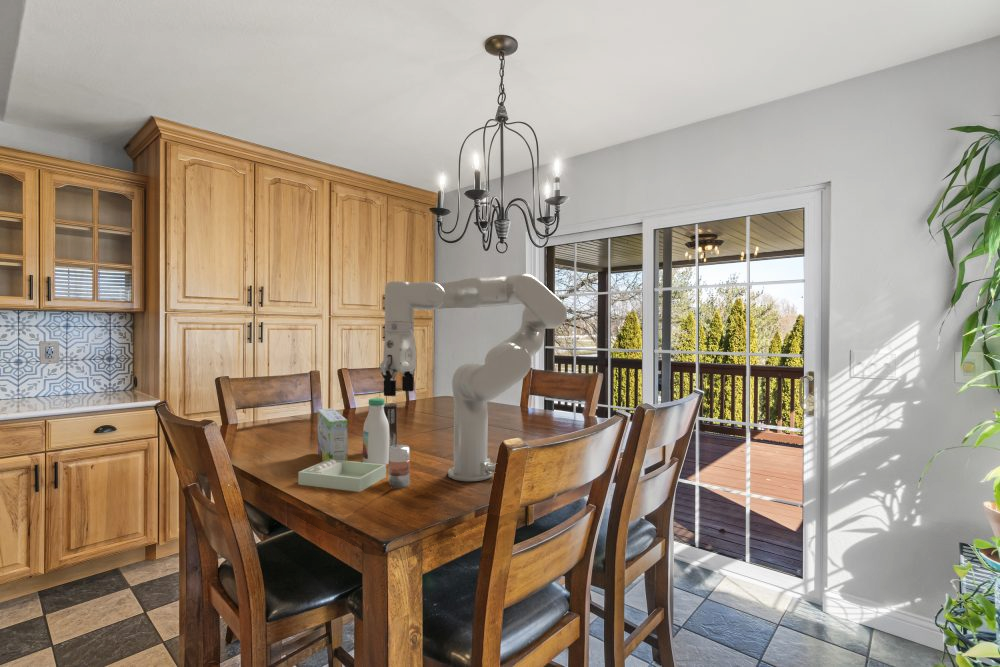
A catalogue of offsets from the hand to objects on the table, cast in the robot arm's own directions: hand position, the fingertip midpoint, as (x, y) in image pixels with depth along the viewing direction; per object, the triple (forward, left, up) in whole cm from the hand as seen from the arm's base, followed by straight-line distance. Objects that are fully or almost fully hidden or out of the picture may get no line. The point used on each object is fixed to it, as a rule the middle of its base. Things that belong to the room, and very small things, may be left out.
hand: (399, 393), depth 130 cm
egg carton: (+20, +4, -23) cm, 31 cm away
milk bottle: (+15, -14, -25) cm, 32 cm away
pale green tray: (+14, +4, -24) cm, 28 cm away
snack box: (+29, -12, -25) cm, 39 cm away
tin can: (0, 0, -24) cm, 24 cm away
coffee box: (+20, -27, -25) cm, 41 cm away
